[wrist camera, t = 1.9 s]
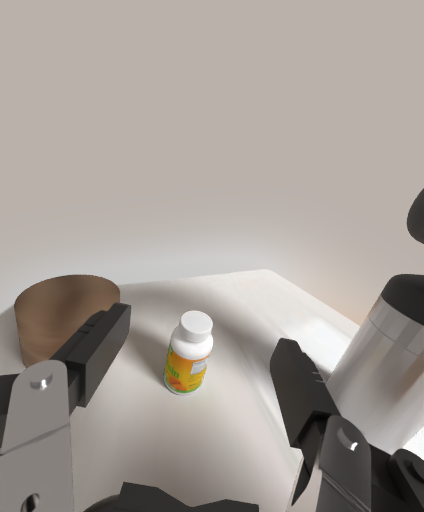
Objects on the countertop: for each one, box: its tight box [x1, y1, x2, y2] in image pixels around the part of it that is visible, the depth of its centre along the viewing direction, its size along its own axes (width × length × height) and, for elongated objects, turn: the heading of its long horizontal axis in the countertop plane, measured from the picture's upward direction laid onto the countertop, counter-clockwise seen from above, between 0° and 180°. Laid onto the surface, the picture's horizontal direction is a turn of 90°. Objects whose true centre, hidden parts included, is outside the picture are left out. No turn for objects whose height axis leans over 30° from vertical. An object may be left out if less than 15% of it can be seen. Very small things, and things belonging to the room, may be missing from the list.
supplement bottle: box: [164, 310, 213, 395], centre depth 26 cm, size 5×5×10 cm
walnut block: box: [14, 275, 120, 368], centre depth 27 cm, size 11×11×8 cm
